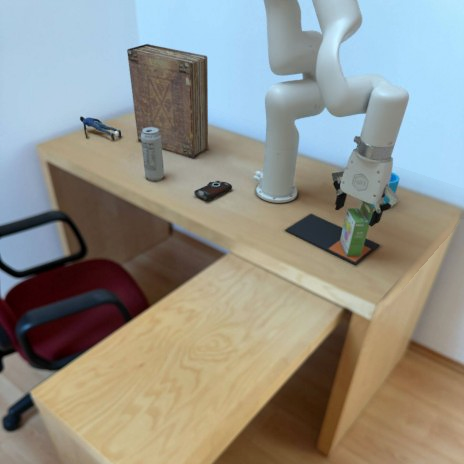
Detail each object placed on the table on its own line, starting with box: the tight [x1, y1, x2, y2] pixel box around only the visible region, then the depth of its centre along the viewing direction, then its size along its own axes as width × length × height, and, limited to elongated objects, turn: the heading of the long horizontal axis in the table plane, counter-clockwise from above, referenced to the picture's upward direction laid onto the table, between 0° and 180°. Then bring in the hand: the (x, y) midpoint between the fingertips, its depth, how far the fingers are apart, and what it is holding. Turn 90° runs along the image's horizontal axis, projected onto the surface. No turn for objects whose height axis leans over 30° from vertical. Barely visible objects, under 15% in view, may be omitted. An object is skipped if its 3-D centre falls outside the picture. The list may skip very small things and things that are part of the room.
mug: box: [371, 172, 401, 209], centre depth 132 cm, size 12×8×8 cm
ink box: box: [340, 201, 375, 256], centre depth 109 cm, size 7×4×13 cm, turn 5°
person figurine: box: [79, 116, 122, 142], centre depth 163 cm, size 11×4×18 cm
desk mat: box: [285, 213, 380, 266], centre depth 118 cm, size 22×12×1 cm, turn 47°
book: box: [126, 43, 209, 159], centre depth 149 cm, size 25×9×30 cm, turn 57°
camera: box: [193, 180, 233, 201], centre depth 133 cm, size 6×3×11 cm
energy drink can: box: [140, 127, 165, 182], centre depth 135 cm, size 6×6×15 cm
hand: (355, 216), depth 108 cm, fingers open, 9 cm apart
